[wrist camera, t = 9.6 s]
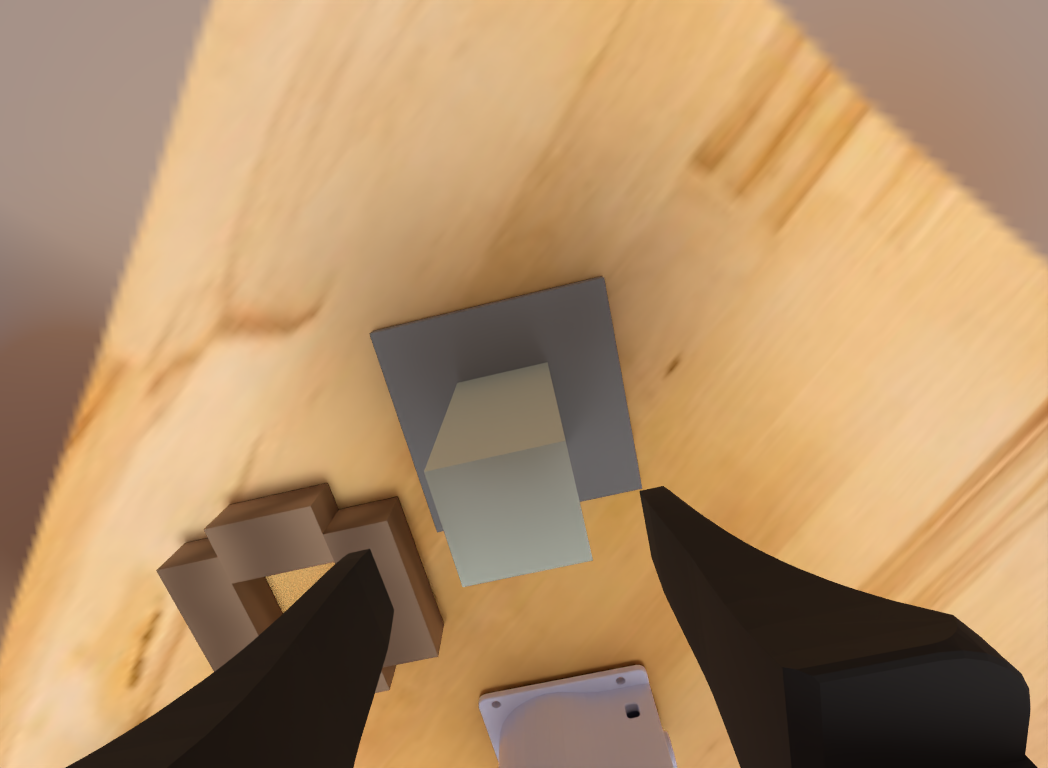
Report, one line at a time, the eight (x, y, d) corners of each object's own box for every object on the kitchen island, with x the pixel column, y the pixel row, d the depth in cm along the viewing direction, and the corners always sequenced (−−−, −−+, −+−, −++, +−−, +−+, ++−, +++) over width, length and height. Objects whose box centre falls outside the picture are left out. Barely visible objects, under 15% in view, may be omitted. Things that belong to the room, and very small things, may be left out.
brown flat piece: (387, 469, 23) (376, 491, 21) (451, 646, 26) (446, 678, 24) (171, 517, 23) (140, 543, 22) (260, 683, 27) (241, 718, 25)
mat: (601, 276, 20) (604, 277, 20) (639, 482, 23) (642, 488, 23) (373, 330, 21) (369, 333, 20) (439, 524, 24) (437, 532, 23)
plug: (547, 362, 21) (565, 440, 13) (566, 444, 22) (592, 560, 14) (457, 382, 21) (424, 471, 13) (480, 463, 22) (462, 586, 15)
